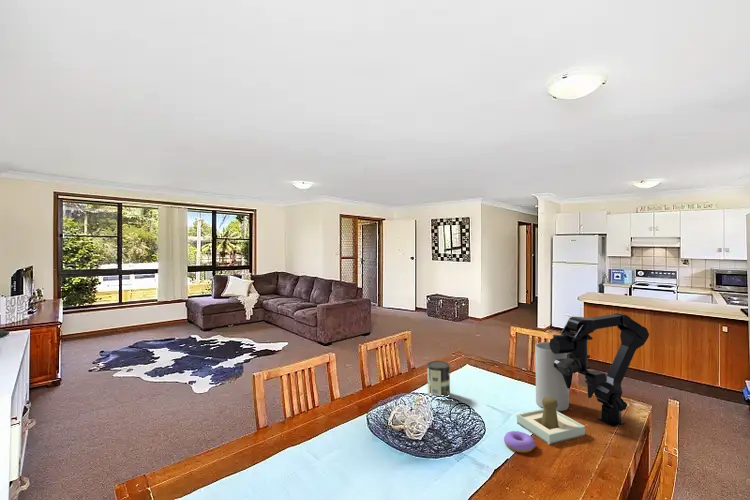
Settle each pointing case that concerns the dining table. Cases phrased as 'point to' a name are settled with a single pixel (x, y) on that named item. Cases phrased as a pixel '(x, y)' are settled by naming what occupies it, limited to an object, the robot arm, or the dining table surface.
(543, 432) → the square tray
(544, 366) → the cylinder vase
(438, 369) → the coffee can
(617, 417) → the robot arm
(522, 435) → the donut
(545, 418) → the pepper shaker
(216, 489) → the dining table surface
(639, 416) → the dining table surface
